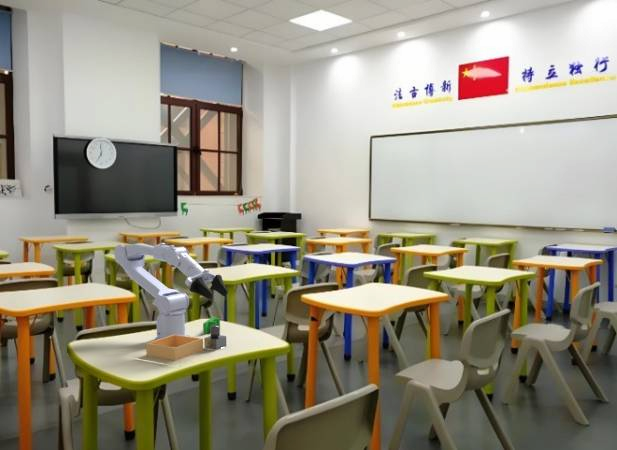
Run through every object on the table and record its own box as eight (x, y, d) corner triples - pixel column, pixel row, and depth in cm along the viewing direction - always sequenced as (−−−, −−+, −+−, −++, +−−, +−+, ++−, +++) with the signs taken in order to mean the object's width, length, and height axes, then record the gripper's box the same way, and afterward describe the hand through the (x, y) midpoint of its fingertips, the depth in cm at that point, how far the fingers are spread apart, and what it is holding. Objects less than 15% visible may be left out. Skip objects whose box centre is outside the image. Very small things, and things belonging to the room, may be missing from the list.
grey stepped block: (204, 347, 163) (204, 327, 163) (214, 344, 168) (214, 323, 167) (216, 349, 161) (216, 328, 161) (226, 345, 165) (226, 325, 165)
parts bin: (146, 356, 156) (146, 343, 156) (174, 346, 167) (174, 334, 167) (175, 361, 150) (175, 348, 150) (203, 350, 161) (202, 338, 161)
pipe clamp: (213, 336, 181) (213, 323, 181) (203, 336, 181) (203, 323, 181) (222, 328, 192) (222, 316, 192) (212, 328, 192) (212, 316, 192)
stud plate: (200, 349, 163) (199, 342, 163) (214, 344, 169) (214, 337, 169) (217, 352, 159) (216, 344, 159) (230, 346, 166) (230, 339, 165)
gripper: (182, 262, 164) (208, 287, 158) (212, 260, 176) (238, 283, 170) (173, 280, 165) (199, 305, 160) (204, 276, 178) (229, 300, 172)
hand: (218, 295), depth 165 cm, fingers open, 7 cm apart
